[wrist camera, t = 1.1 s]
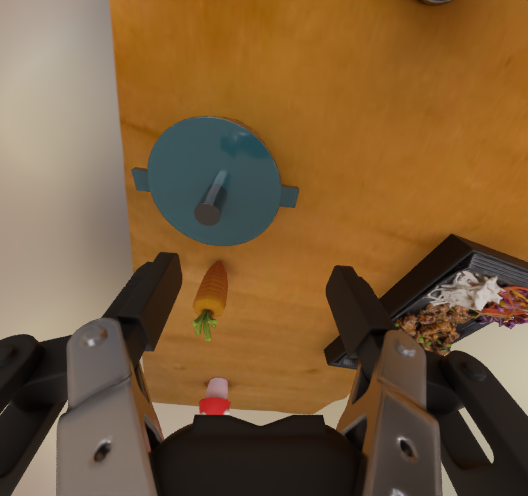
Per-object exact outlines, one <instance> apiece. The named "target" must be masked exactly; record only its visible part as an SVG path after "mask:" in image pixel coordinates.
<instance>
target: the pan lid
mask: <svg viewBox="0 0 528 496" xmlns="http://www.w3.org/2000/svg"><path fill="white" fill-rule="evenodd" d="M147 170H148V183H149V188H150V192H151V195H152V197H153V200H154V202H155V204H156V206H157V207H158V209H159V211H160V212H161V213H162V215H163V216H164V217H165V219H166V220H167V221H168V222H169V223H170V224H171V225H172V226H173V227H175V228H176V229H177V230H178V231H180V232H181V233H182V234H184V235H186V236H188V237H189V238H191V239H194V240H196V241H198V242H201V243H205V244H209V245H214V246H233V245H239V244H242V243H245V242H248V241H250V240H252V239H254V238H255V237H257V236H258V235H260V234H261V233H262V232H264V231H265V230H266V229H267V228H268V226H269V225H270V224H271V222H272V221H273V219H274V217H275V216H276V213H277V211H278V208H279V205H280V200H281V181H280V175H279V172H278V168H277V165H276V163H275V161H274V159H273V157H272V155H271V153H270V152H269V150H268V149H267V147H266V146H265V145H264V144H263V142H262V141H261V140H260V139H259V138H258V137H257V136H256V135H255V134H253V133H252V132H251V131H249V130H248V129H247V128H245V127H243V126H241V125H240V124H238V123H236V122H233V121H230V120H228V119H224V118H220V117H214V116H199V117H193V118H189V119H185V120H182V121H180V122H178V123H176V124H174V125H173V126H171V127H170V128H168V129H167V130H166V131H165V132H164V133H163V134H162V135H161V136H160V137H159V138H158V140H157V141H156V143H155V144H154V146H153V149H152V151H151V154H150V157H149V161H148V169H147Z"/></svg>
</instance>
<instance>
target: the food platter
mask: <svg viewBox="0 0 528 496" xmlns="http://www.w3.org/2000/svg"><path fill="white" fill-rule="evenodd" d="M379 302H381V304H382V306H383V307H384V309H385V310H386V312H387V314H388V315H389V317H390V318H391V320H392V322H393V323H394V325H395V326H396V328H397V329H398V331H401V332H404V333H406V334H408V335H409V336H411V337H412V338H413V339H415V340H416V341H417V342H418V343H419V344H420V346H421V347H422V348H423V349H425V350H428V351H431V352H434V353H437V354H440V355H443V356H444V355H446V354H447V353H450V352H451V351H450V348H451V345H452V344H453V343H455V342H457V341H459V340H461V339H463V338H464V337H466V336H468V335H470V334H472V333H474V332H475V331H477V330H479V329H481V328H483V327H485V326H486V325H488V324H490V323H492V322H494V321H495V322H498V323H499V327H501V326H502V325H505V326H506V327H508V328H510V329H512V328H513V327H514V326H515V324H523V323H528V315H527V313H528V262H525V261H523V260H520V259H517V258H515V257H512V256H510V255H507V254H504V253H502V252H499V251H496V250H494V249H491V248H488V247H486V246H483V245H480V244H478V243H475V242H472V241H470V240H467V239H464V238H462V237H459V236H456V235H454V234H451V235H450V236H449V237H448V238H446V239H445V240H444V241H443V242H442V243H441V244H440V245H439V246H438V247H437V248H435V249H434V250H433V251H432V252H431V253H430V254H429V255H428V256H427V257H426V258H424V259H423V260H422V261H421V262H420V263H419V264H418V265H417V266H416V267H414V268H413V269H412V270H411V271H410V272H409V273H408V274H407V275H406V276H405V277H403V278H402V279H401V280H400V281H399V282H398V283H397V284H396V285H395V286H394V287H392V288H391V289H390V290H389V291H388V292H387V293H386V294H385V295H384V296H383V297H381V298H380V299H379ZM510 317H514V319H513V318H511V319H513V320H510ZM507 320H508V322H505V323H503V322H504V321H507ZM324 353H325V357H326V361H327V364H328V365H329V366H336V367H343V368H350V369H356V370H357V369H358V366H359V365H360V362H359V359H358V358H348V355H347V353H346V350H345V347H344V344H343V342H342V339H341V336H339V337H337V338H336V339H335V340H334V341H333V342H332V343H331V344H330V345H329V346H328V347H326V348H325V349H324Z"/></svg>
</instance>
